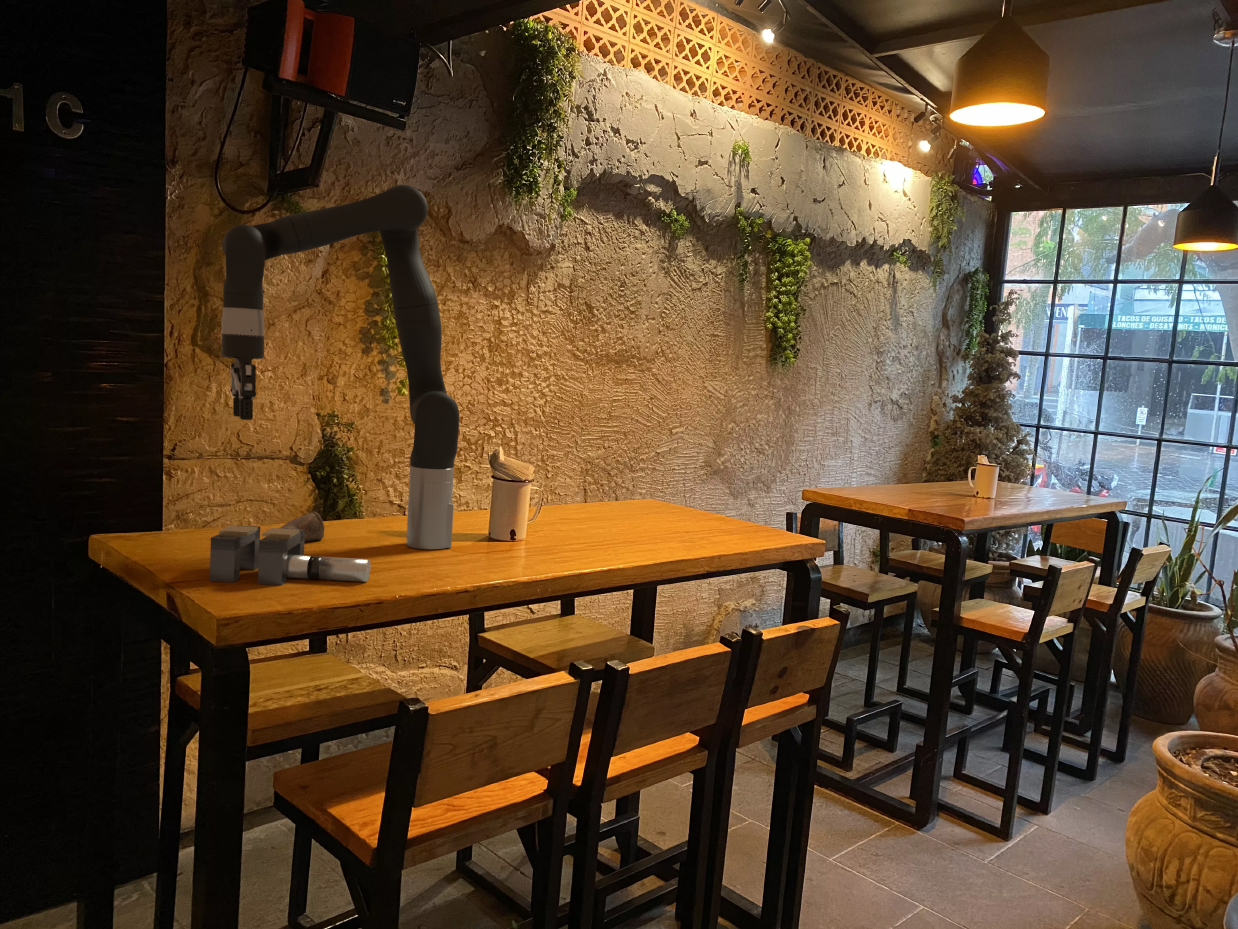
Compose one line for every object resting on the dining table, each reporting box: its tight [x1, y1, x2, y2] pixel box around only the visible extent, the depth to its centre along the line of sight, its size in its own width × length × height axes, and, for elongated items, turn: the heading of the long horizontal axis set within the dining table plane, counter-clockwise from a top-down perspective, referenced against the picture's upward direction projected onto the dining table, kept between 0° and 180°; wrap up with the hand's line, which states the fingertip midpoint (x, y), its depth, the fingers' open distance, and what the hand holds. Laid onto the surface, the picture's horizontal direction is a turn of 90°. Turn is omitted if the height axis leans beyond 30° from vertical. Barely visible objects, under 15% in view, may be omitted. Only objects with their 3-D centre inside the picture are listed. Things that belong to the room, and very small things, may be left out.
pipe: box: [279, 511, 325, 543], centre depth 181 cm, size 6×17×10 cm
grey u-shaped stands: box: [209, 524, 306, 586], centre depth 155 cm, size 12×12×8 cm
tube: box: [287, 555, 371, 583], centre depth 155 cm, size 18×4×4 cm, turn 93°
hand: (242, 418), depth 169 cm, fingers open, 8 cm apart
